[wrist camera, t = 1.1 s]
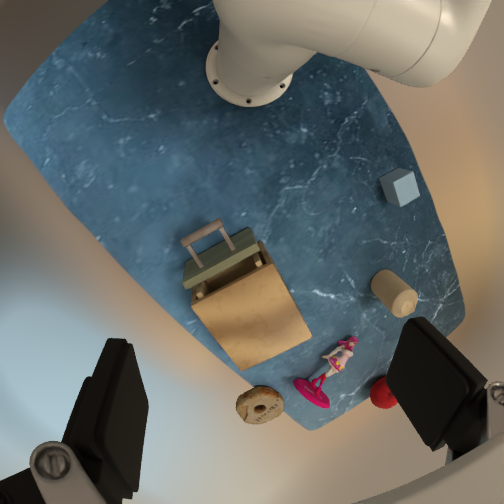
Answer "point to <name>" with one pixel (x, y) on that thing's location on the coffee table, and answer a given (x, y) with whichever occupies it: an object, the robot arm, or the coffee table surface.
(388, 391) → the apple
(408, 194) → the block
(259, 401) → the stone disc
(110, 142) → the coffee table surface
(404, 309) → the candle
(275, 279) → the cabinet
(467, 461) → the robot arm
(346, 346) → the figurine
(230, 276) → the drawer
